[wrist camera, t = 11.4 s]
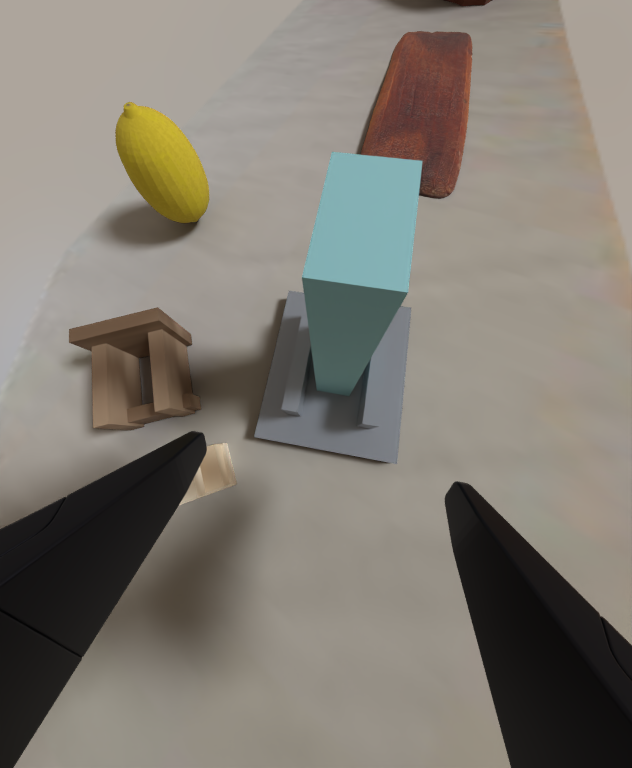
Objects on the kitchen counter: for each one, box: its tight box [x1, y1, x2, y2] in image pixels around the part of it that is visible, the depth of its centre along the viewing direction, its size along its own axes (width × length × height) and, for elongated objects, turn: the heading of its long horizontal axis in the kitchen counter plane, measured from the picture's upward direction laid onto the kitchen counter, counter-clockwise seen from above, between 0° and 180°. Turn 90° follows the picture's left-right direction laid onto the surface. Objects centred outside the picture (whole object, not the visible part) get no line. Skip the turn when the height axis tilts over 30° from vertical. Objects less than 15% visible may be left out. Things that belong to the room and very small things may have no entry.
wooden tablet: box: [361, 31, 472, 198], centre depth 25 cm, size 27×10×2 cm, turn 165°
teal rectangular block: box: [302, 152, 422, 396], centre depth 11 cm, size 4×2×12 cm, turn 169°
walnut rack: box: [69, 308, 201, 430], centre depth 17 cm, size 7×6×4 cm
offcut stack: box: [179, 443, 237, 505], centre depth 15 cm, size 3×8×3 cm, turn 109°
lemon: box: [115, 102, 209, 223], centre depth 19 cm, size 6×6×8 cm
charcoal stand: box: [254, 291, 411, 464], centre depth 17 cm, size 12×10×4 cm
